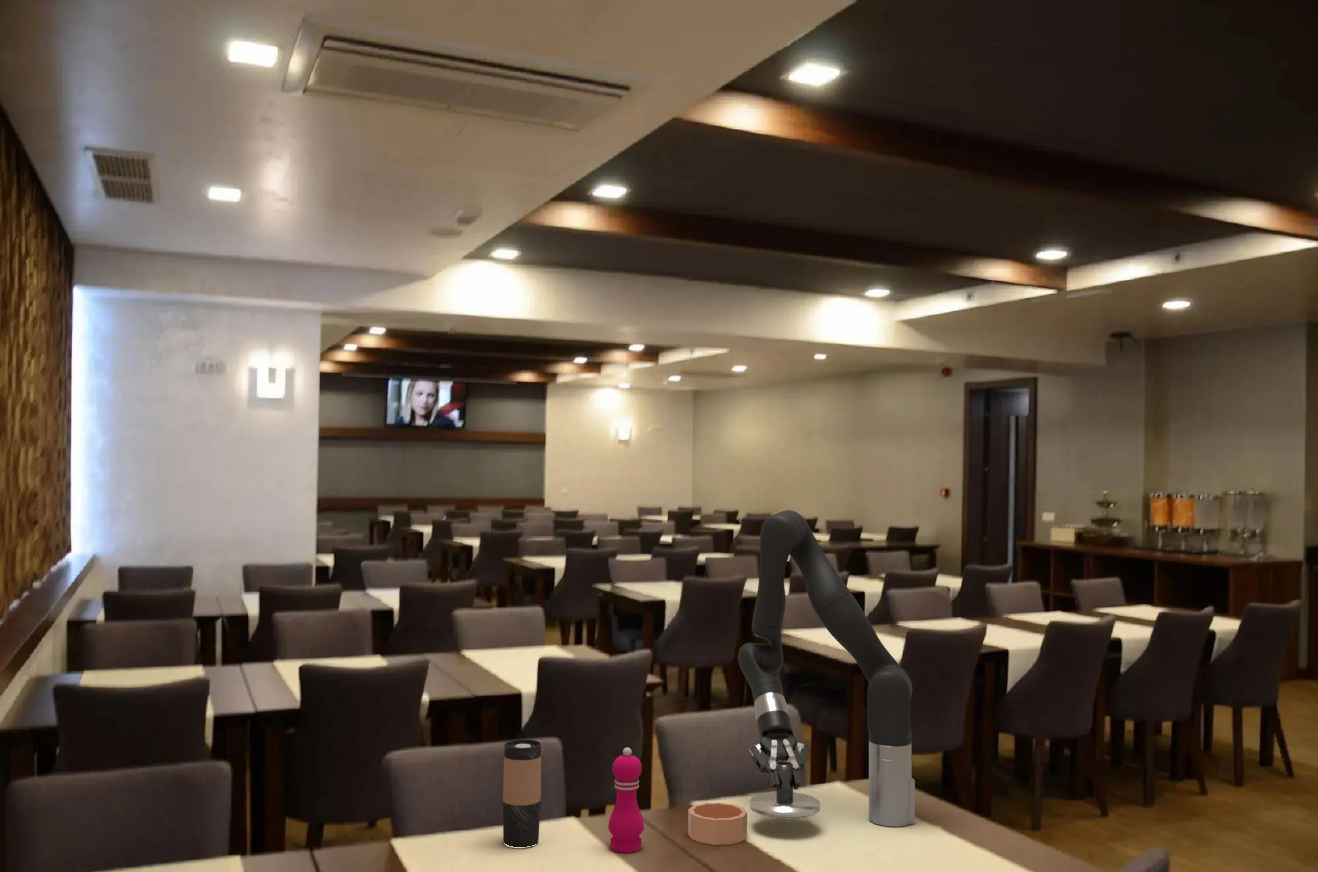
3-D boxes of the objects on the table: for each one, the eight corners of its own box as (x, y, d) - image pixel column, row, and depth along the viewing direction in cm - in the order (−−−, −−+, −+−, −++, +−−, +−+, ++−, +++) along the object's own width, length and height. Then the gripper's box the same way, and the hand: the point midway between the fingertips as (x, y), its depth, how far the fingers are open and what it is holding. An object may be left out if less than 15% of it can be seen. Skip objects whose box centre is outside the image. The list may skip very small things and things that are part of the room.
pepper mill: (645, 842, 216) (647, 743, 217) (641, 854, 209) (643, 752, 210) (610, 841, 217) (612, 742, 218) (605, 853, 210) (607, 751, 211)
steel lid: (808, 795, 236) (808, 754, 236) (828, 816, 221) (828, 771, 221) (743, 798, 234) (742, 756, 234) (758, 819, 219) (758, 774, 219)
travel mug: (546, 840, 217) (548, 741, 218) (526, 851, 210) (528, 749, 211) (515, 834, 220) (517, 737, 221) (494, 845, 213) (496, 745, 214)
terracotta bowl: (739, 825, 229) (739, 801, 229) (751, 843, 217) (751, 818, 217) (684, 826, 227) (684, 803, 227) (694, 845, 215) (694, 820, 215)
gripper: (744, 709, 235) (757, 779, 222) (806, 707, 237) (822, 777, 224) (739, 728, 240) (752, 798, 227) (800, 726, 242) (816, 795, 229)
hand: (787, 787), depth 225 cm, fingers closed on steel lid, 3 cm apart
